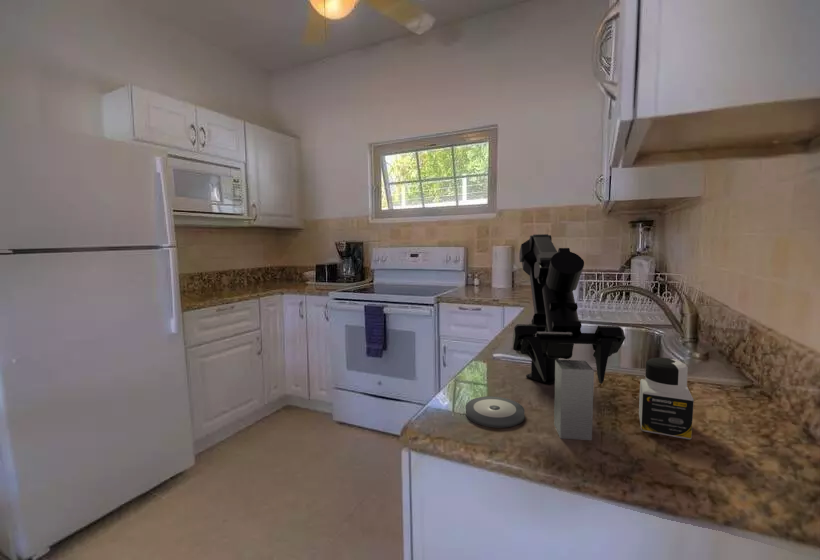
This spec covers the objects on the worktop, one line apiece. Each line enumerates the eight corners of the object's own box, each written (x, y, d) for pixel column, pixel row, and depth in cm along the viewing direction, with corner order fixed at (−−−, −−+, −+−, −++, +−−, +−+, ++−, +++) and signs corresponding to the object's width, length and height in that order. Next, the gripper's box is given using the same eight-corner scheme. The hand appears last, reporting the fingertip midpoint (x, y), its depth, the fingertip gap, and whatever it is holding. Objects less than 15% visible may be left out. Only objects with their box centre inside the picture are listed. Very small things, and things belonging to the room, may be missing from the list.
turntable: (491, 397, 81) (491, 391, 81) (536, 415, 73) (536, 409, 72) (453, 412, 75) (453, 405, 75) (498, 434, 66) (498, 427, 66)
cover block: (554, 424, 69) (555, 359, 68) (583, 426, 68) (585, 360, 67) (560, 438, 64) (561, 369, 63) (591, 440, 63) (594, 370, 62)
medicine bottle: (641, 431, 66) (644, 363, 65) (638, 414, 72) (641, 352, 71) (691, 440, 63) (695, 369, 62) (684, 422, 69) (688, 357, 68)
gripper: (600, 330, 80) (618, 402, 70) (508, 328, 83) (513, 397, 73) (615, 298, 72) (637, 375, 62) (512, 297, 75) (518, 371, 65)
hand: (573, 381), depth 66 cm, fingers open, 9 cm apart
